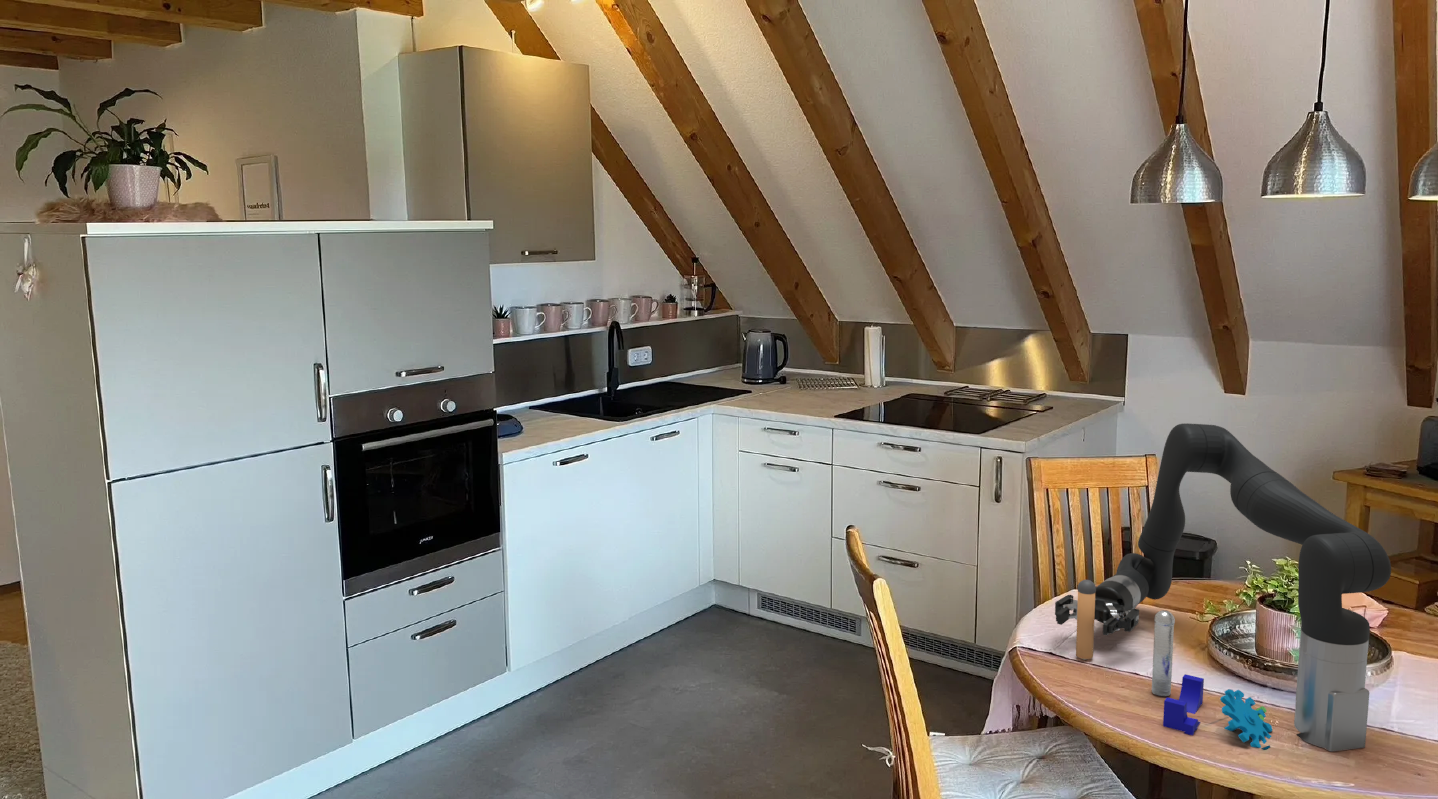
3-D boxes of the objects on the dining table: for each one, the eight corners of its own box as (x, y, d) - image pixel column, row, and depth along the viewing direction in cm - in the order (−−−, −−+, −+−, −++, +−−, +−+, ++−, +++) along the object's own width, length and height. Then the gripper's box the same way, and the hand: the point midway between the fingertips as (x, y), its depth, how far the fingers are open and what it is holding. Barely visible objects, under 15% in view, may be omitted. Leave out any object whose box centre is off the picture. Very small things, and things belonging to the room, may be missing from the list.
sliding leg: (1097, 659, 196) (1100, 581, 193) (1084, 663, 194) (1087, 584, 191) (1083, 653, 198) (1086, 576, 196) (1071, 657, 197) (1073, 579, 194)
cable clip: (1192, 743, 168) (1194, 708, 167) (1162, 735, 171) (1164, 700, 170) (1211, 714, 177) (1213, 680, 176) (1183, 707, 180) (1184, 674, 179)
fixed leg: (1175, 696, 181) (1179, 612, 178) (1162, 701, 179) (1166, 615, 177) (1159, 689, 184) (1163, 606, 181) (1146, 694, 182) (1150, 609, 179)
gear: (1256, 752, 161) (1216, 692, 166) (1226, 768, 165) (1188, 708, 170) (1290, 739, 168) (1251, 681, 173) (1260, 754, 171) (1223, 697, 176)
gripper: (1078, 573, 210) (1044, 596, 197) (1152, 587, 200) (1121, 613, 188) (1077, 609, 211) (1043, 635, 199) (1151, 625, 202) (1120, 653, 190)
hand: (1081, 624), depth 194 cm, fingers open, 8 cm apart
